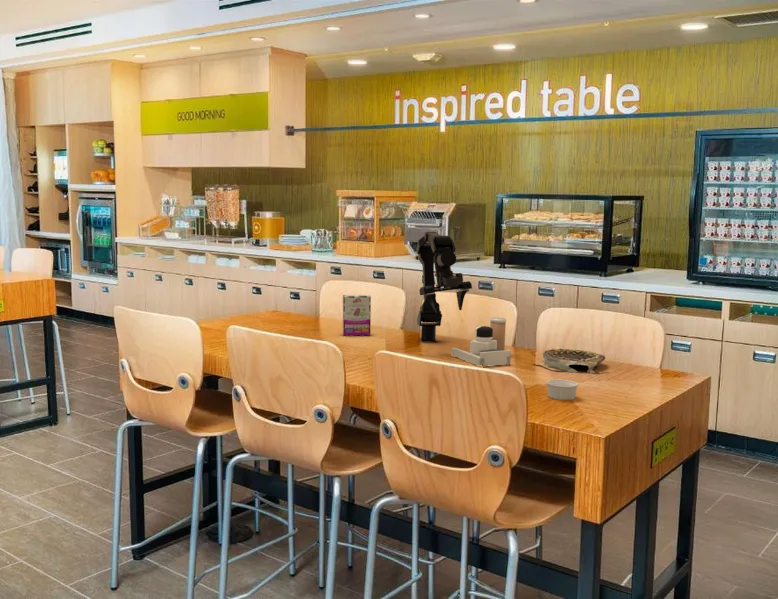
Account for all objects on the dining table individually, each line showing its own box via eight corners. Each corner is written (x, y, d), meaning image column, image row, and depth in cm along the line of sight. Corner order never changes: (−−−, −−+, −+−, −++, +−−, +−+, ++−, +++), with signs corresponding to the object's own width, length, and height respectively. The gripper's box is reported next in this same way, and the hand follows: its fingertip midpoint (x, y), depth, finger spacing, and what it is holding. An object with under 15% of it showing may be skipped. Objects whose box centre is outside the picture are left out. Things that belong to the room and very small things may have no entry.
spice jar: (487, 352, 293) (488, 317, 291) (502, 352, 293) (504, 317, 291) (490, 355, 287) (492, 320, 285) (506, 355, 287) (507, 320, 286)
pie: (518, 360, 282) (519, 346, 281) (583, 357, 291) (584, 344, 291) (563, 377, 256) (564, 362, 255) (632, 373, 265) (633, 359, 265)
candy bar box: (368, 333, 325) (369, 294, 323) (370, 336, 320) (371, 296, 318) (341, 334, 324) (342, 294, 321) (343, 336, 319) (343, 296, 316)
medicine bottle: (496, 360, 277) (497, 326, 276) (487, 363, 271) (489, 329, 270) (478, 357, 281) (479, 324, 279) (469, 361, 275) (470, 327, 273)
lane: (451, 355, 284) (451, 342, 284) (479, 353, 289) (480, 340, 289) (480, 367, 266) (481, 352, 266) (510, 364, 271) (510, 350, 271)
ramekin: (572, 393, 234) (573, 379, 233) (580, 401, 225) (581, 386, 224) (542, 393, 234) (543, 378, 233) (549, 400, 225) (550, 386, 224)
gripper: (426, 269, 278) (432, 313, 277) (475, 264, 284) (481, 307, 283) (416, 273, 289) (422, 315, 288) (463, 268, 294) (469, 309, 293)
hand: (448, 311), depth 288 cm, fingers open, 9 cm apart
